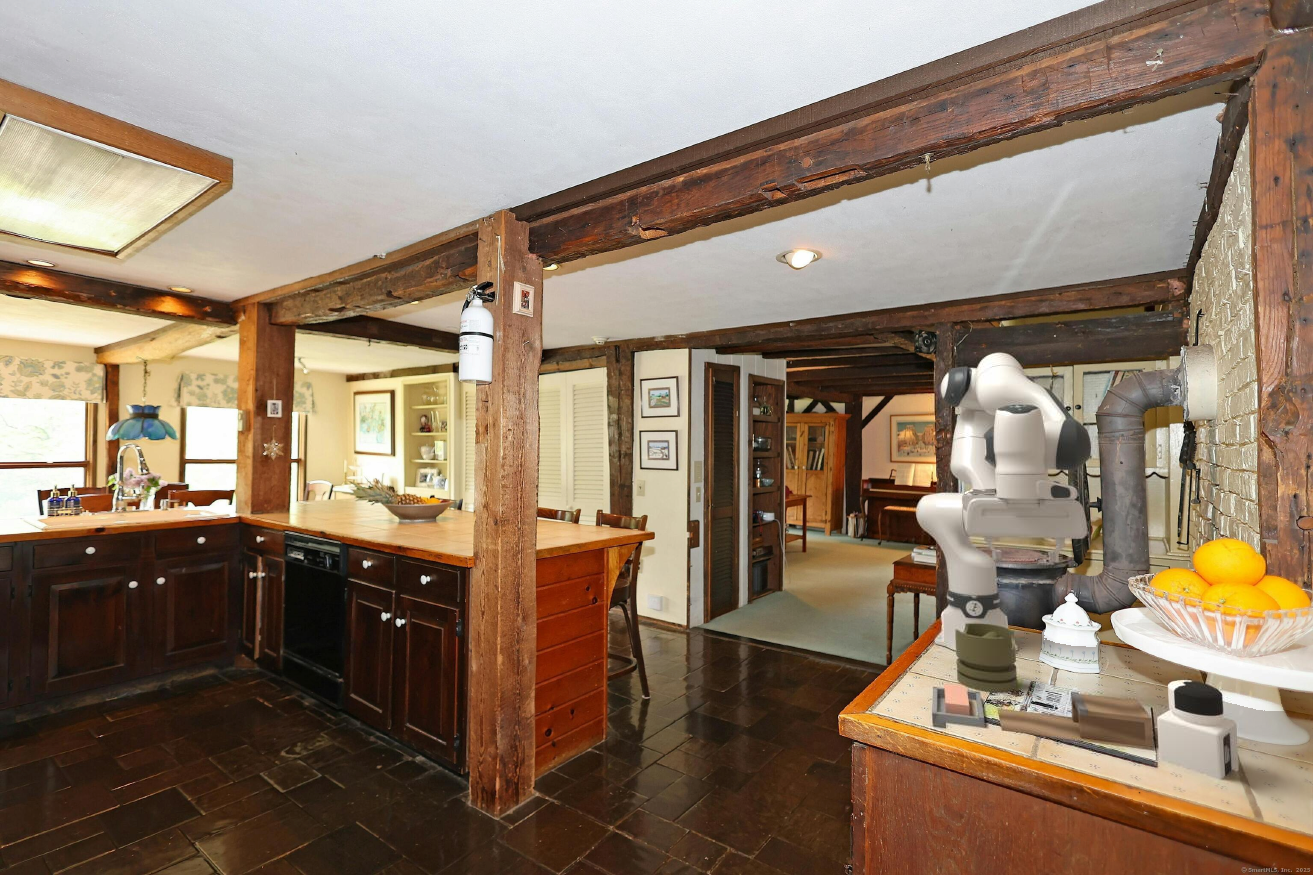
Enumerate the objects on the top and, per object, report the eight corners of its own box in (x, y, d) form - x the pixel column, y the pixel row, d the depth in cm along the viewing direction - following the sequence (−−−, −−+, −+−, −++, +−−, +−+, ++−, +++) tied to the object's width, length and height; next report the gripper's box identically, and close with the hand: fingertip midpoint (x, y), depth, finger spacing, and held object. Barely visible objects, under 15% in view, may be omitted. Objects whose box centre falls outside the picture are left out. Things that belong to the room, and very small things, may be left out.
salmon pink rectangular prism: (946, 720, 117) (945, 702, 117) (944, 699, 127) (944, 683, 127) (970, 723, 116) (969, 705, 116) (967, 702, 125) (966, 686, 125)
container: (1239, 770, 98) (1235, 686, 98) (1221, 786, 94) (1216, 698, 94) (1178, 751, 104) (1174, 672, 104) (1158, 765, 100) (1154, 682, 100)
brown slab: (997, 713, 121) (996, 681, 121) (1137, 730, 112) (1136, 696, 112) (1002, 735, 112) (1000, 701, 112) (1155, 756, 103) (1153, 719, 103)
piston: (946, 631, 134) (966, 620, 142) (949, 688, 134) (969, 673, 142) (1004, 641, 126) (1022, 629, 134) (1007, 701, 126) (1024, 685, 134)
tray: (933, 698, 129) (933, 686, 129) (980, 703, 125) (980, 691, 126) (932, 725, 117) (932, 712, 117) (984, 732, 113) (984, 719, 113)
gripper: (962, 490, 122) (965, 561, 122) (1087, 489, 114) (1091, 566, 114) (961, 487, 128) (964, 556, 128) (1080, 487, 120) (1083, 560, 120)
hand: (1024, 560), depth 121 cm, fingers open, 8 cm apart
